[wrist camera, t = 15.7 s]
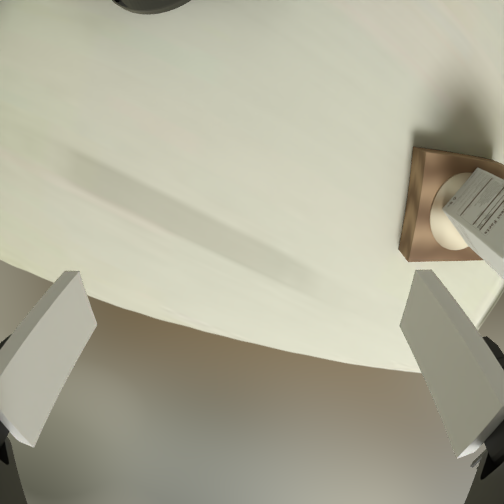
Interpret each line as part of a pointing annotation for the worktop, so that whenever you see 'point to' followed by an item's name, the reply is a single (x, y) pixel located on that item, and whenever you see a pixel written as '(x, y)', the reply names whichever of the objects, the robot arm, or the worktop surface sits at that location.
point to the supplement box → (481, 216)
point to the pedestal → (438, 204)
